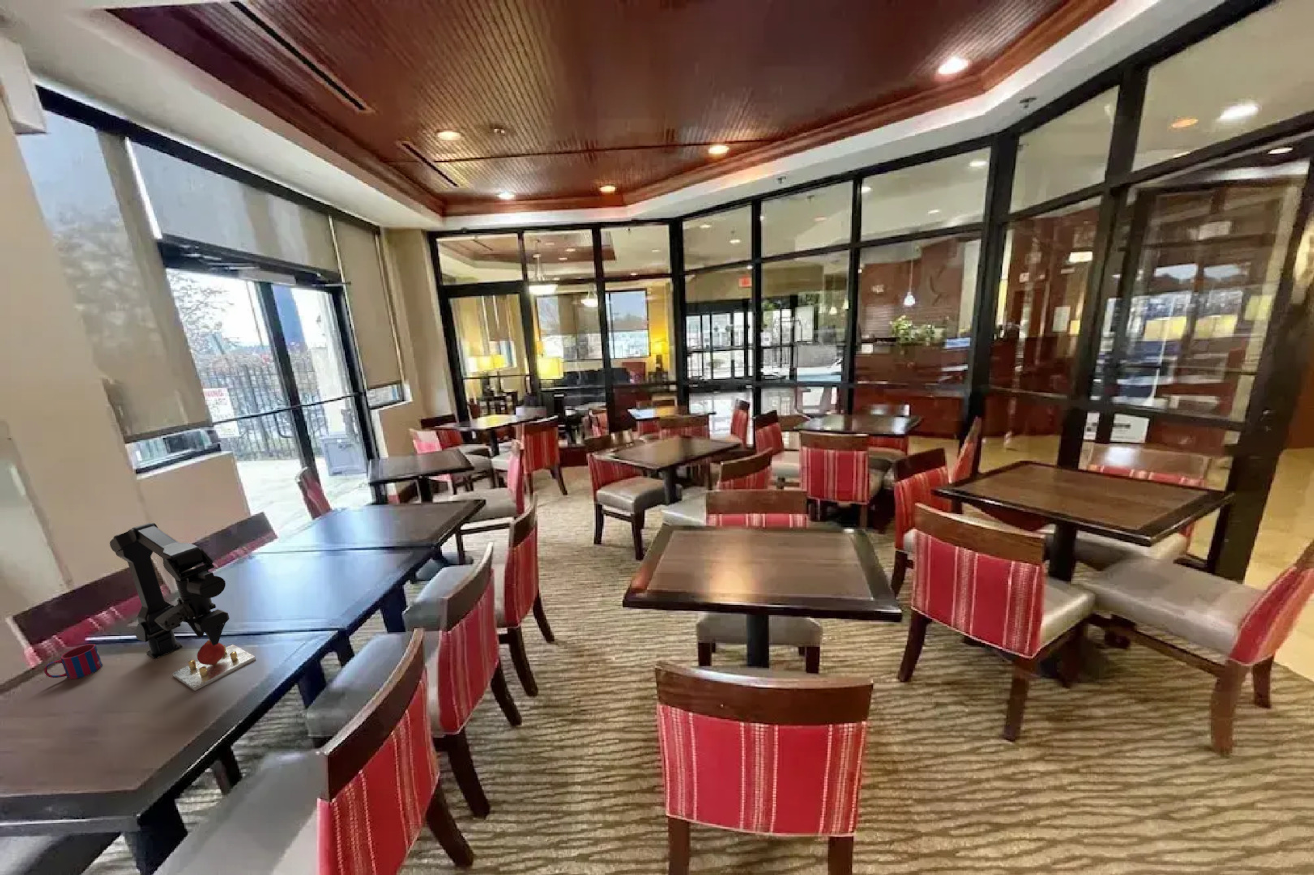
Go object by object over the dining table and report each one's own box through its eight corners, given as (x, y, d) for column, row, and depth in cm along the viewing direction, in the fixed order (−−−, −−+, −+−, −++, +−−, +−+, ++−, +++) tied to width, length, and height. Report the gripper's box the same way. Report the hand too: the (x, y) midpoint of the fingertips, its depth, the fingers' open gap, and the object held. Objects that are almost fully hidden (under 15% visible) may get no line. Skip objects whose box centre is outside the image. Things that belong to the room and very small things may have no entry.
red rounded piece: (197, 674, 135) (190, 649, 133) (205, 661, 140) (198, 637, 138) (223, 667, 137) (217, 642, 135) (230, 655, 142) (224, 631, 140)
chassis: (173, 676, 136) (169, 665, 135) (233, 647, 148) (230, 637, 147) (194, 690, 129) (191, 679, 129) (255, 659, 141) (253, 648, 141)
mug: (102, 670, 140) (95, 649, 139) (48, 689, 133) (40, 668, 132) (103, 660, 145) (96, 640, 143) (51, 678, 138) (43, 658, 136)
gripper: (140, 599, 131) (156, 649, 134) (169, 614, 122) (185, 667, 125) (193, 579, 140) (207, 627, 144) (223, 592, 132) (236, 642, 135)
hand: (208, 640), depth 137 cm, fingers open, 9 cm apart
